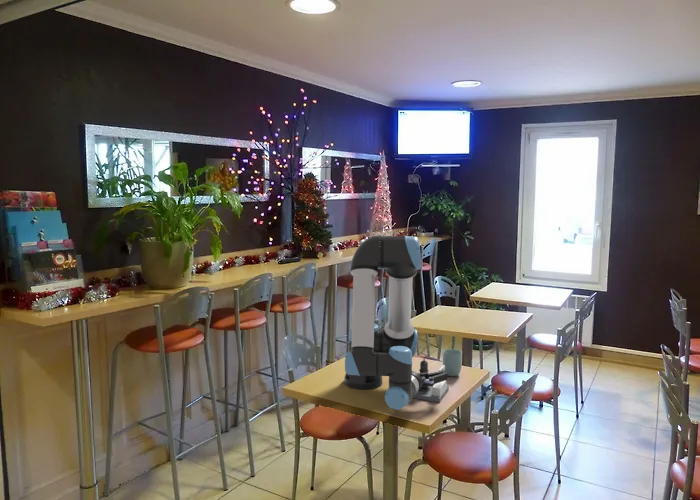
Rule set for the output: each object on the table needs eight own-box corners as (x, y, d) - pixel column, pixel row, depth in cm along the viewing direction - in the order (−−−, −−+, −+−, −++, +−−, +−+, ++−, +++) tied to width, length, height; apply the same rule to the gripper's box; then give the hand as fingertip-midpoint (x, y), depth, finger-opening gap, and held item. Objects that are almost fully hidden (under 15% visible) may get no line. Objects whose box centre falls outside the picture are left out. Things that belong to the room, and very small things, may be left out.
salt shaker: (434, 388, 201) (435, 358, 199) (425, 393, 196) (426, 362, 195) (421, 384, 205) (421, 355, 203) (412, 389, 200) (413, 358, 199)
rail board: (398, 395, 198) (398, 383, 198) (409, 383, 210) (409, 372, 209) (439, 402, 192) (440, 390, 191) (448, 390, 203) (448, 379, 203)
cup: (461, 378, 216) (462, 355, 215) (442, 377, 217) (442, 353, 216) (461, 372, 223) (461, 349, 222) (442, 371, 225) (443, 348, 224)
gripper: (375, 388, 189) (395, 370, 208) (444, 400, 179) (458, 380, 198) (376, 368, 188) (396, 352, 207) (444, 379, 178) (459, 361, 197)
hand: (426, 366), depth 203 cm, fingers open, 13 cm apart
